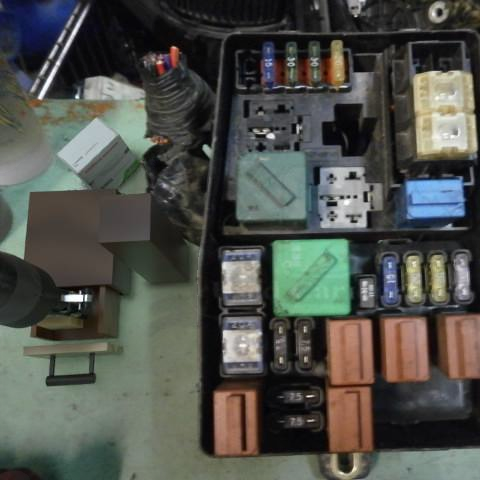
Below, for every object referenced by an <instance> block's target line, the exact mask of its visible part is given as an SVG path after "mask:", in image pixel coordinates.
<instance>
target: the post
mask: <svg viewBox="0 0 480 480" xmlns="http://www.w3.org/2000/svg"><path fill="white" fill-rule="evenodd" d="M98 243H99V244H100V245H102V246H103V247H104V248H105V249H107V250H108V251H109V252H111V253H112V254H113V255H114V256H116V257H117V258H118V259H120V260H121V261H122V262H123V263H125V264H126V265H127V266H129V267H130V268H131V269H132V271H133V272H134V273H136V274H137V275H139V276H140V277H141V278H142V279H143V280H145V281H146V282H148V283H149V284H150V285H164V284H183V283H185V284H186V283H190V245H189V244H188V243H187V241H186V240H185V239H184V237H183V236H182V234H181V233H180V231H179V229H177V227H176V226H175V224H174V223H173V222H172V220H171V219H170V218H169V216H168V215H167V213H166V212H165V210H164V209H163V208H162V206H161V204H159V202H158V200H157V199H156V198H155V196H154V195H153V193H152V192H146V193H145V192H144V193H123V194H122V193H121V194H119V195H101V201H100V220H99V238H98Z"/></svg>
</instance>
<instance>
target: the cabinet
mask: <svg viewBox="0 0 480 480" xmlns="http://www.w3.org/2000/svg"><path fill="white" fill-rule="evenodd" d="M119 194H122V193H121V192H120V191H119V190H118V189H117V188H112V189H90V188H88V189H70V190H69V189H68V190H67V189H65V190H44V191H43V190H42V191H30V192H29V196H28V207H27V219H26V229H25V230H26V231H25V239H24V240H25V241H24V251H23V260H25V261H27V262H29V263H31V264H33V265H35V266H37V267H39V268H41V269H43V270H44V271H46V272H47V273H48V274H49V275H50V276H51V277H52V279H53V281H54V282H55V284H56V286H57V287H58V288H68V287H87V286H106V285H109V286H110V287H112V288H114V289H115V290H117V291H119V292H120V297H129V296H130V297H131V296H132V273H133V272H132V271H133V270H132V269H131V268H130V267H129V266H127V265H126V264H125V263H123V262H122V261H121V260H120V259H118V258H117V257H116V256H114V255H113V254H112V253H111V252H109V251H108V250H107V249H105V248H104V247H103V246H102V245H100V244H99V243H98V238H99V220H100V201H101V195H119Z"/></svg>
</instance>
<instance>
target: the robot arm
mask: <svg viewBox="0 0 480 480" xmlns="http://www.w3.org/2000/svg"><path fill="white" fill-rule="evenodd" d="M93 303H94V294H93V289H90V288H85V289H82V291H79V295H73V294H72V292H71V291H68V290H64V289H59V288H58V287H57V286H56V284H55V282H54V281H53V279H52V277H51V276H50V275H49V274H48V273H47V272H46V271H44V270H43V269H41V268H39V267H37V266H35V265H33V264H31V263H29V262H27V261H25V260H24V258H21V257H19V256H17V255H15V254H13V253H9V252H6V251H2V250H0V326H2V327H7V328H12V329H26V328H31V326H33V325H35V324H37V323H39V322H40V321H42V320H43V319H44V318H45V317H57V318H66V317H70V316H73V317H76V318H79V319H82V320H84V319H87V318H88V316H90V315H93Z"/></svg>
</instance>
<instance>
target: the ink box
mask: <svg viewBox="0 0 480 480" xmlns="http://www.w3.org/2000/svg"><path fill="white" fill-rule="evenodd" d="M56 156H57V158H58V159H59V160H60V161H61V162H63V163H64V164H65V166H66V167H68V169H69V170H71V171H72V172H73V173H74V174H75V176H77V178H79V179H80V180H81V182H83V183H84V184H85V185H86V186H87V187H88V189H112V188H116V189H117V188H119V187H120V185H122V184H123V183H124V182H125V181H126V180H127V179H128V177H129V176H131V175H132V174H133V173H134V172H135V171H136V169H138V168H139V167H140V166H141V163H140V161H139V160H138V159H137V157H136V155H134V153H133V151H132V150H131V149H130V147H129V146H128V144H127V143H126V142H125V141H124V139H123V138H122V136H121V135H120V133H119V132H117V130H115V129H114V128H113V127H111V126H110V125H109V124H107V123H106V122H105V121H104V120H102V119H101V118H100V117H98V116H96V117H95V118H94V119H93V120H92V121H90V123H89V124H87V125H86V126H85V127H84V128H83V129H82V130H81V131H80V132H79V133H78V134H76V135H75V136H74V137H73V138H72V140H70V141H69V142H68V143H67V144H66V145H65V146H63V148H61V150H59V151H58V152H57V153H56Z"/></svg>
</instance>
